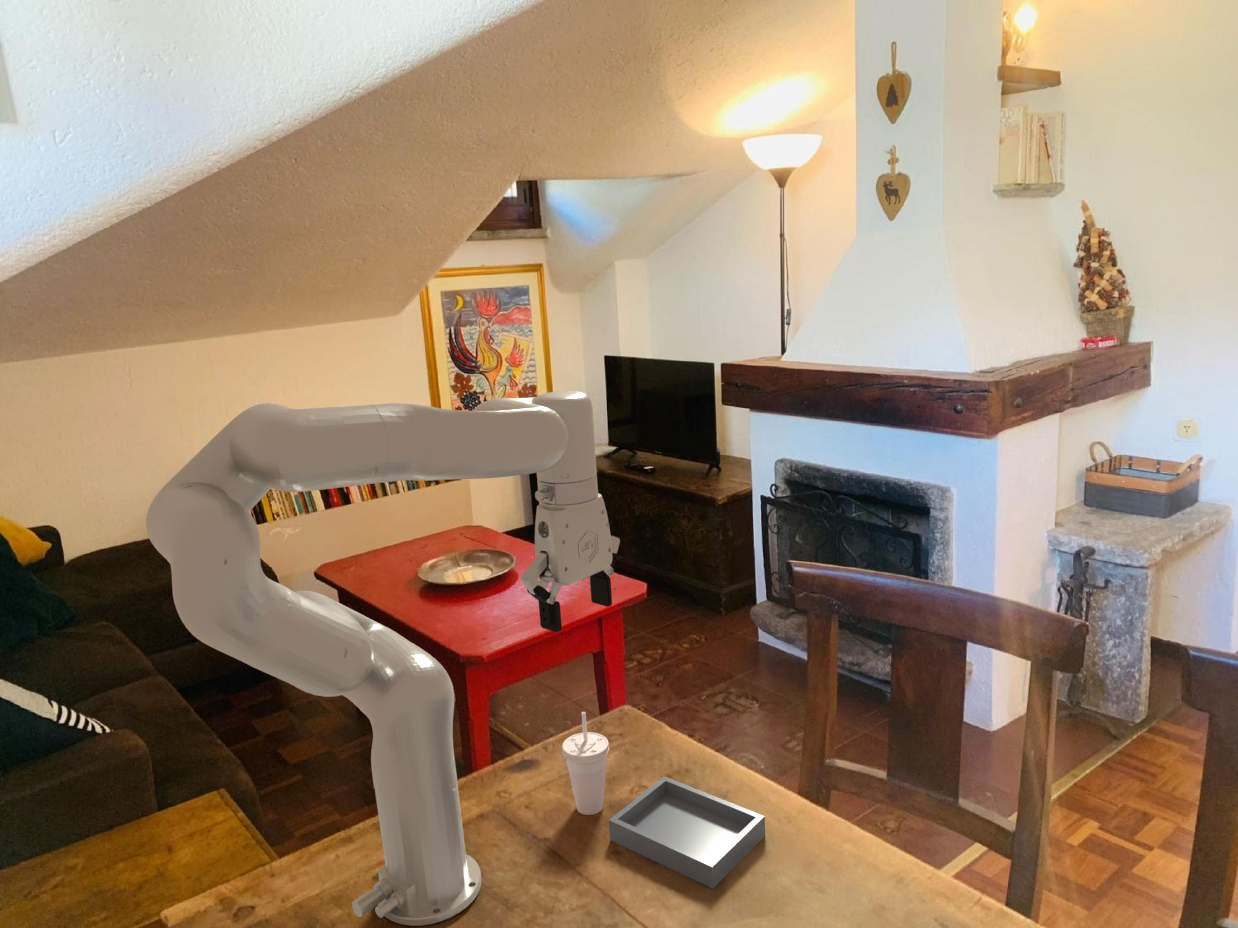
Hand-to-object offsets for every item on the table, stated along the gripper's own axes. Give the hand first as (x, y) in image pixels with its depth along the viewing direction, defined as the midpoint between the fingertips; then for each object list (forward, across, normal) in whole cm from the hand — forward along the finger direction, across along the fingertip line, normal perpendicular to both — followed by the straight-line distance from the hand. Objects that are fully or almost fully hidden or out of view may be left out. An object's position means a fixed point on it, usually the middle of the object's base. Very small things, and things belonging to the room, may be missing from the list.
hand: (577, 616), depth 121 cm
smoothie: (+28, 0, 0) cm, 29 cm away
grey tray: (+28, +2, -15) cm, 32 cm away
